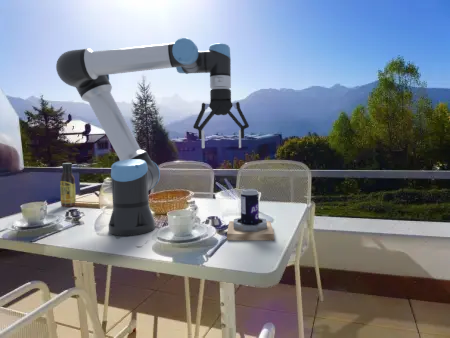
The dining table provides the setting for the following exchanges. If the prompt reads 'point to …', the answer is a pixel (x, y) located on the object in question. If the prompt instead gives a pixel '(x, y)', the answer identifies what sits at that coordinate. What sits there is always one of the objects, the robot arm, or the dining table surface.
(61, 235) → the dining table surface
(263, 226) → the collar
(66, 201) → the sauce bottle
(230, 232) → the oak board
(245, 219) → the beverage can
